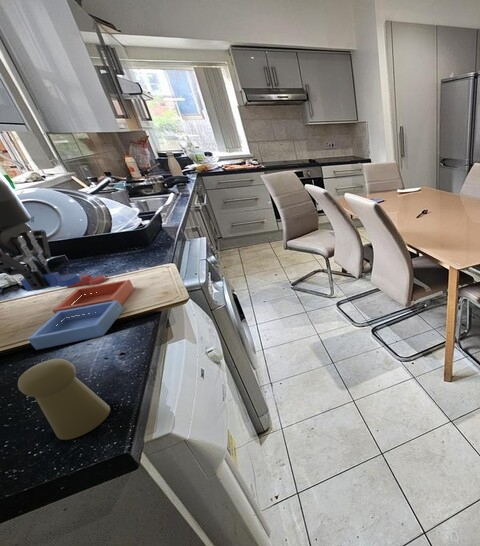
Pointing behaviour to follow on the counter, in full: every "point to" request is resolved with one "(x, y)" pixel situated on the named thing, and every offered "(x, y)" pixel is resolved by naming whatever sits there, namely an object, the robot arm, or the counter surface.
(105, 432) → the counter surface
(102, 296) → the red bin
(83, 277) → the red block
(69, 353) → the counter surface
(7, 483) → the counter surface
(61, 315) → the blue bin
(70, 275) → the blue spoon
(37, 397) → the cork
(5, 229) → the robot arm
